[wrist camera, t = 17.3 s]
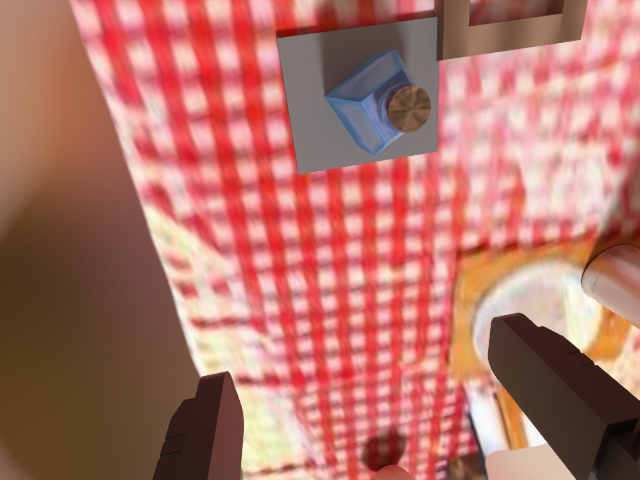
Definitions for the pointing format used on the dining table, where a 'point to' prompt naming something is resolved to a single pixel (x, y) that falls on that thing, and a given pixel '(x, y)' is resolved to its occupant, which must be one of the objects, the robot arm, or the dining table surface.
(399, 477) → the decorative fruit
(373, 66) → the perfume bottle
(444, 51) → the block
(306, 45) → the rubber mat
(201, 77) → the dining table surface
